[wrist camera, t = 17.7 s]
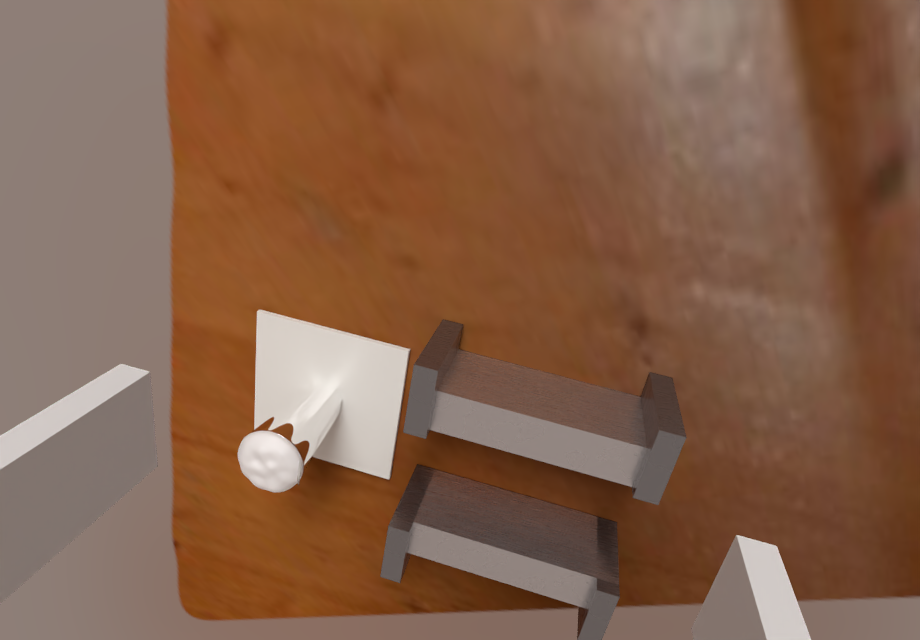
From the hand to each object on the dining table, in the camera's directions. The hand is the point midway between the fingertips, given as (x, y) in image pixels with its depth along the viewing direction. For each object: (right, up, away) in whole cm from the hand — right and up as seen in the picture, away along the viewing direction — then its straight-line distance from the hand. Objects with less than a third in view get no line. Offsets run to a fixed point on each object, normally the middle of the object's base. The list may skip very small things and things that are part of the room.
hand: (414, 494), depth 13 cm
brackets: (+6, -6, +31) cm, 32 cm away
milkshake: (-9, -2, +32) cm, 34 cm away
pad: (-9, -2, +33) cm, 34 cm away
